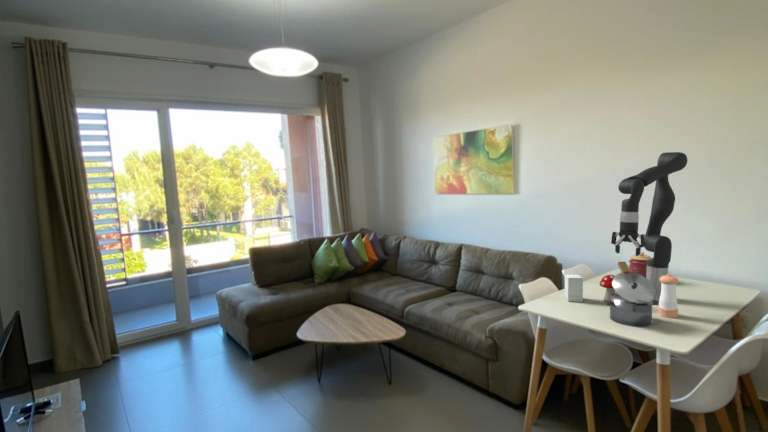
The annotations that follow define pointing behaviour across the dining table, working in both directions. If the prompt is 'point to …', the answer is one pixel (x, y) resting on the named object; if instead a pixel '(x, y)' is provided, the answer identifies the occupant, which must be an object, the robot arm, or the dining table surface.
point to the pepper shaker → (668, 297)
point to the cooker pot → (630, 311)
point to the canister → (639, 264)
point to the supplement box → (574, 288)
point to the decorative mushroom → (607, 286)
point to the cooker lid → (633, 286)
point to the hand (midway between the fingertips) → (627, 254)
